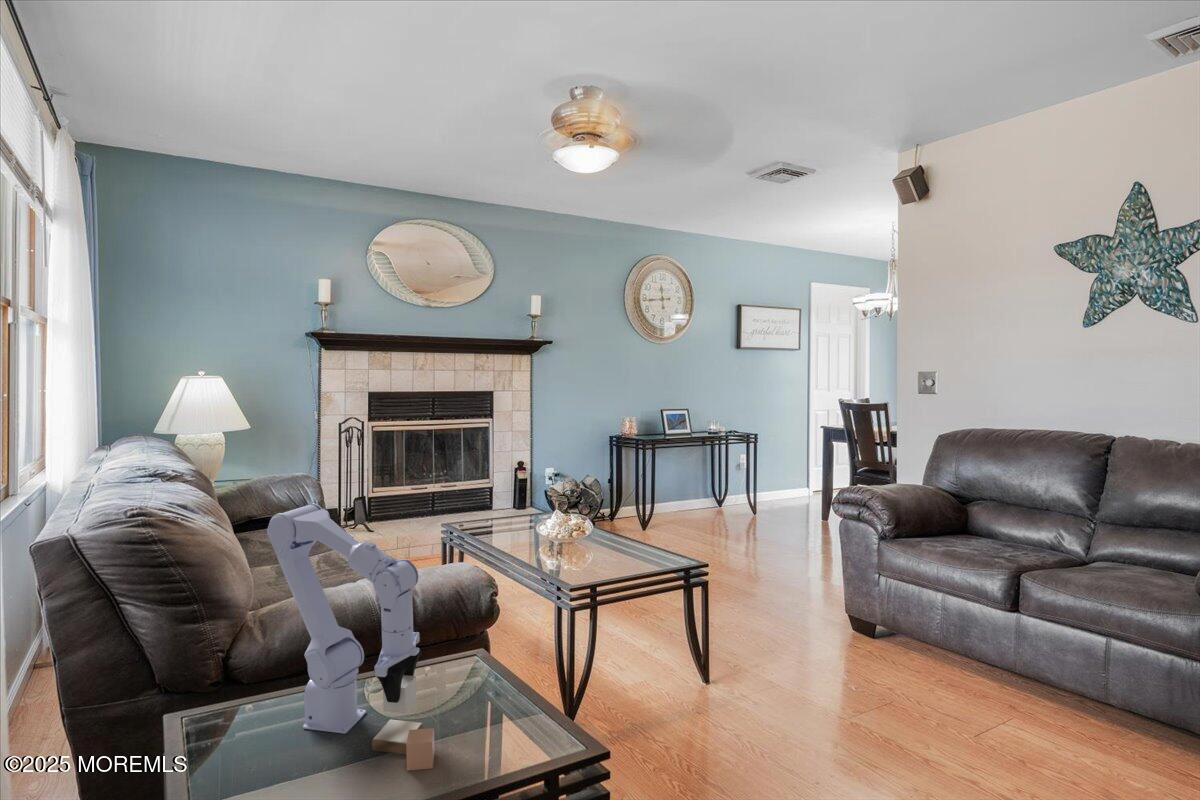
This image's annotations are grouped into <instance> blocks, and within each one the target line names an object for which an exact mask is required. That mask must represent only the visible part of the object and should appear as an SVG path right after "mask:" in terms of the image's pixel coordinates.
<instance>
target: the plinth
mask: <svg viewBox="0 0 1200 800" xmlns="http://www.w3.org/2000/svg"><path fill="white" fill-rule="evenodd" d="M415 729H424V723H423V722H417V721H408V720H399V719H391V718H390V719H389V720H388V721H387V722H386V723H385V724H384V726H383V727H382V728H381V729H380V730H379V732H378V733H376V735H375V736H374V737H373V739H372V740H371V747H372V748H371V750H372V751H375V752H381V753H382V752H383V753H392V754H398V755H406V743H407V738H408V733H409V730H415Z"/></svg>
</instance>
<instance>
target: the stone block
mask: <svg viewBox="0 0 1200 800" xmlns="http://www.w3.org/2000/svg"><path fill="white" fill-rule="evenodd" d="M382 700H383V701H382V702H383V703H382V704H383V705H382V706H383V708H382V709H383V712H391V713H399V714H407V713H408V711H409V710H410V709H411V708H412V706H413V705H415V704H416V702H417V675H416V676H415V675H414V676H408V675H403V678H402V682H401V691H400V699H399V701H398V702H397V703H393V702H387V699H386V696H385V693H384V689H383V688H382Z"/></svg>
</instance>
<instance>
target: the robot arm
mask: <svg viewBox="0 0 1200 800" xmlns="http://www.w3.org/2000/svg"><path fill="white" fill-rule="evenodd" d="M266 534H267V537H268V539H269V541H270V544H271V546H272V548H273V551H274V553H275V555H276V557H277V561H278V564H279V566H280V569H281V571H282V574H283V575H284V578H285V580H286V582H287V585H288V587H289V590H290V591H291V594H292V597H293V599H294V601H295V603H296V606H297V608H298V610H299V613H300V615H301V618H302V620H303V623H304V624H305V627H306V630H307V632H308V634H309V637H310V642H309V644H308V646H307V649H306V650H305V652H304V654H303V655H304V658H305V660H306V663H307V673H308V676H309V681H308V682H307V684H306V686H305V690H304V693H303V694H304V695H303V696H304V697H303V702H304V703H303V704H304V724H303V725H302V729H305V730H313V731H320V732H329V733H336V734H337V733H338V734H345V735H346V734H347V733H348V732H349V731H350V730H351V729H352V728H353V727H354V726H355V725H356V724H357V722H359V721H360V720H361V719H362V717H364V716H365V714H366V713H367V710H366V709H362V708H361V709H360V708H358V698H357V697H358V694H357V693H358V692H357V691H358V690H357V689H358V688H357V674H359V667H361V666H362V664H363V663H364V660H365V652H364V649H363V647H362V645H361V643H360V642H359V640H357V639H356V638H355V636H354V634H353V632H352V630H350V629H348V628H345V627H342V626H340V625H339V623H338V621H337V620H336V616H335V615H334V613H333V610H332V607H331V605H330V602H329V600H328V598H327V595H326V593H325V591H324V589H323V587H322V584H321V581H320V579H319V578H318V575H317V573H316V571H315V568H314V566H313V563H312V561H311V558H310V557H309V555H310V554H309V553H310V552H311V550H312V547H313V546H314V545H315V543H316V542H317V541H318V542H320V543H321V544H323V545H325V546H327V547H329V548H330V549H331V550H333V551H335V552H337V553H339V554H340V555H342V556H344V557H345V558H347V563H348V567H349V568H350V569H352V570H353V571H354V572H356V573H358V574H359V575H360V576H361V577H363V578H365V579H366V580H367V581H369V582H371V584H372V586H373V589H374V592H375V594H376V595H377V597H378V605H379V606H380V611H381V614H380V615H381V616H380V618H381V643H382V644H381V650H380V653H379V657H378V660H377V661H376V663H375V665H374V668H373V673H374V677H376V678H377V679H378V680H379V682H380V684H381V687H382V690H383V689H384V693H385V696H386V699H387V702H393V703H397V702H398V701H399V699H400V691H401V682H402V678H403V675H408V676H415V675H414V674H415V671H416V666H417V664H418V661H419V659H420V657H421V655H422V649H421V648H420V647H416V646H417V644H418V643H420V632H418V631H416V632H415V631H414V609H413V607H414V606H413V603H414V602H413V588H415V587H416V585H417V584H418V582H419V571H418V569H417V567H416V565H414V563H413V562H411V561H410V560H409V559H408V558H407V559H406V558H402V559H399V558H394V557H393V556H391V555H389V554H388V553H386V552H385V551H384V550H381V548H379V547H377V543H374V542H373V541H363V542H359V541H358V540H357V539H355V537H353V536H352V535H351V534H349V533H348V532H347V531H345V530H344V529H343V528H341V526H339V525H338V524H337V523H336V522H334V521H333V520H332V519H331V516H330V512H329V511H328V510H327V509H324V508H323V507H322V506H321V505H320V504H317V503H314V502H313V503H308V504H306V505H304V506H302V507H301V506H300V507H298V508H294V509H291V510H288V511H285V512H278V513H276V514H274V515H272V517H271V518H270V520H269V523H268V526H267V530H266ZM331 646H332V647H331Z"/></svg>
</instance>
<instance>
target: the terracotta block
mask: <svg viewBox="0 0 1200 800" xmlns="http://www.w3.org/2000/svg"><path fill="white" fill-rule="evenodd" d="M435 752H436V751H435V727H428V728H423V729H415V730H409V733H408V738H407V743H406V754H405V755H406V771H418V770H419V771H420V770H427V769H433V768H434V761H435Z"/></svg>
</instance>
